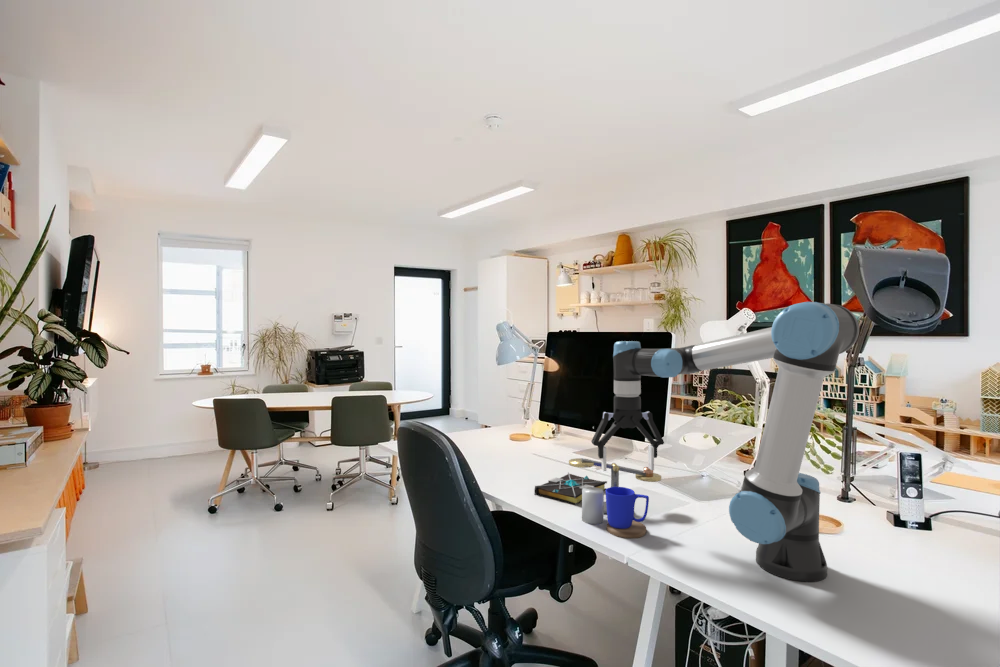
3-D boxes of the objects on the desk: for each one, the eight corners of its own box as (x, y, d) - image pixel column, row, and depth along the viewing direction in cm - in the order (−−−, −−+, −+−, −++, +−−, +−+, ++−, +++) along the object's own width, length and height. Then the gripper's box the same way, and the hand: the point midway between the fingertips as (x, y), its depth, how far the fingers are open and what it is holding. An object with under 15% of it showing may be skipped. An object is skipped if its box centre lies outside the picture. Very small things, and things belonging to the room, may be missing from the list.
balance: (664, 513, 161) (665, 461, 160) (570, 514, 160) (571, 462, 160) (656, 504, 169) (656, 455, 168) (566, 505, 168) (566, 455, 167)
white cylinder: (605, 524, 152) (605, 493, 152) (584, 524, 152) (584, 494, 152) (600, 516, 158) (601, 487, 158) (580, 516, 158) (580, 487, 158)
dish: (651, 538, 142) (651, 533, 142) (611, 538, 142) (612, 534, 142) (639, 522, 153) (639, 518, 153) (602, 523, 153) (602, 519, 152)
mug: (649, 533, 142) (650, 497, 142) (605, 529, 144) (605, 494, 144) (647, 522, 150) (647, 488, 150) (605, 519, 152) (605, 485, 152)
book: (567, 481, 195) (567, 468, 195) (607, 490, 184) (607, 477, 184) (533, 496, 178) (533, 481, 178) (575, 507, 167) (575, 492, 167)
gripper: (665, 393, 151) (666, 465, 151) (581, 394, 150) (581, 466, 150) (675, 396, 143) (675, 472, 143) (586, 397, 142) (586, 473, 143)
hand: (627, 469), depth 147 cm, fingers open, 13 cm apart
